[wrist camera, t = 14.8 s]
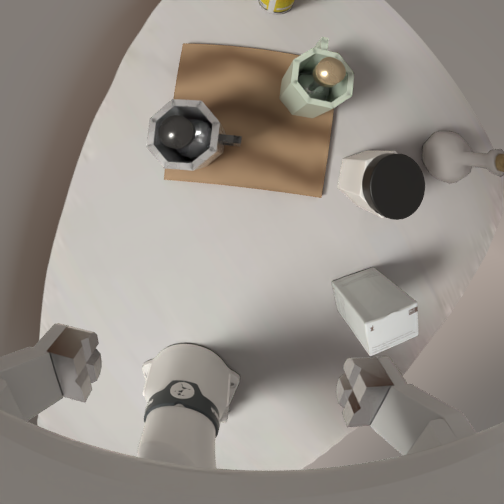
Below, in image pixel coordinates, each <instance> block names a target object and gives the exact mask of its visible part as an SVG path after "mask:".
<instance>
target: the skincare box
mask: <svg viewBox="0 0 504 504" xmlns="http://www.w3.org/2000/svg"><path fill="white" fill-rule="evenodd" d="M332 286H333V291H334V296H335V301H336V306H337V310H338V312H339V313H340V314H341V316H342V317H343V319H344V320H345V322H346V323H347V324H348V326H349V327H350V328H351V330H352V331H353V333H354V334H355V336H356V337H357V339H358V340H359V341H360V343H361V344H362V346H363V347H364V349H365V350H366V351H367V353H368V354H369V356H372V355H375V354H377V353H380V352H382V351H384V350H387V349H389V348H391V347H394V346H396V345H398V344H400V343H403V342H405V341H407V340H409V339H411V338H414V337H416V336H418V310H417V302H416V301H415V300H414V299H413V298H412V297H410V296H409V295H408V294H407V293H405V292H404V291H403V290H402V289H400V288H399V287H398V286H397V285H395V284H394V283H393V282H392V281H390V280H389V279H388V278H386V277H385V276H384V275H383V274H381V273H380V272H379V271H378V270H376V269H375V268H374V267H372V268H369V269H366V270H364V271H361V272H358V273H355V274H352V275H349V276H346V277H344V278H341V279H338V280H335V281H332Z"/></svg>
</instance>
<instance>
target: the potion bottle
mask: <svg viewBox="0 0 504 504" xmlns="http://www.w3.org/2000/svg"><path fill="white" fill-rule="evenodd" d="M422 161H423V163H424V165H425V166H426V168H427V170H428V172H430V174H431V175H432V176H434V177H435V178H437V179H439V180H442V181H444V182H447V183H449V184H450V183H455V182H458V181H459V180H461V179H462V178H464V177H465V176H467V175H468V174H469V173H470V172H471V168H472V166H473V167H480V168H486V169H488V170H489V172H491V173H493V174H495V175H497V176H500V177H501V176H503V175H504V152H503V150H502V149H495V150H490V151H489V152H488V154H486V153H475V152H472V149H471V147H470V146H469V145H468V144H467V143H466V141H465V140H464V139H463V138H462V137H461V136H460V135H459V134H457V133H454V132H452V131H438V132H436V133H434V134H432V136H431V137H429V139H428V140H427V141H426V142H425V144H424V145H423V146H422Z"/></svg>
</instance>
